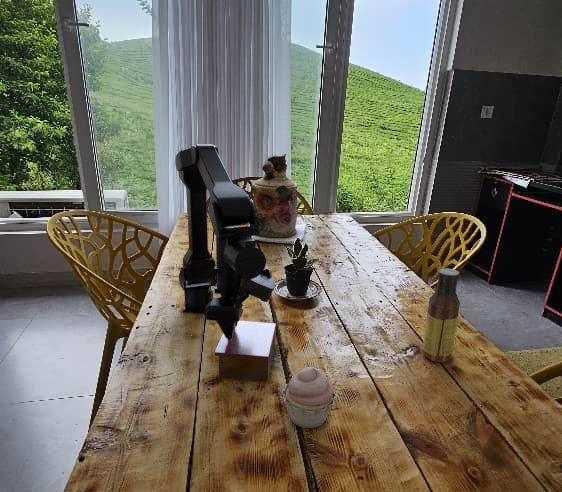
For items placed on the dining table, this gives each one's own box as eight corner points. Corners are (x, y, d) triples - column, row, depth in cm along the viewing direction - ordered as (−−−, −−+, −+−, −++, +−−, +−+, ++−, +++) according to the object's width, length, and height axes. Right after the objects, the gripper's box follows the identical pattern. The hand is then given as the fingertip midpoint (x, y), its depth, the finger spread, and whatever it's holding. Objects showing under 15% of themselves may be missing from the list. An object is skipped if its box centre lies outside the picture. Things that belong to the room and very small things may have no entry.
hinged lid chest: (218, 377, 87) (218, 356, 85) (232, 342, 99) (232, 323, 97) (267, 381, 86) (268, 360, 84) (275, 345, 98) (275, 326, 97)
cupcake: (319, 444, 71) (324, 392, 67) (270, 421, 75) (272, 371, 72) (344, 412, 78) (349, 364, 75) (298, 393, 83) (301, 347, 79)
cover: (214, 355, 85) (213, 331, 83) (228, 322, 97) (228, 301, 96) (268, 360, 84) (269, 336, 82) (275, 326, 97) (276, 305, 95)
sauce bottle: (451, 352, 99) (468, 268, 91) (451, 366, 93) (469, 279, 86) (420, 346, 101) (435, 264, 93) (419, 360, 95) (434, 274, 88)
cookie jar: (250, 224, 192) (251, 148, 180) (306, 229, 189) (311, 151, 177) (237, 241, 169) (237, 155, 157) (301, 246, 166) (306, 158, 154)
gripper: (267, 281, 75) (264, 360, 81) (278, 248, 93) (275, 314, 98) (202, 277, 76) (205, 355, 82) (225, 244, 94) (226, 311, 99)
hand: (231, 332), depth 90 cm, fingers closed on cover, 5 cm apart
